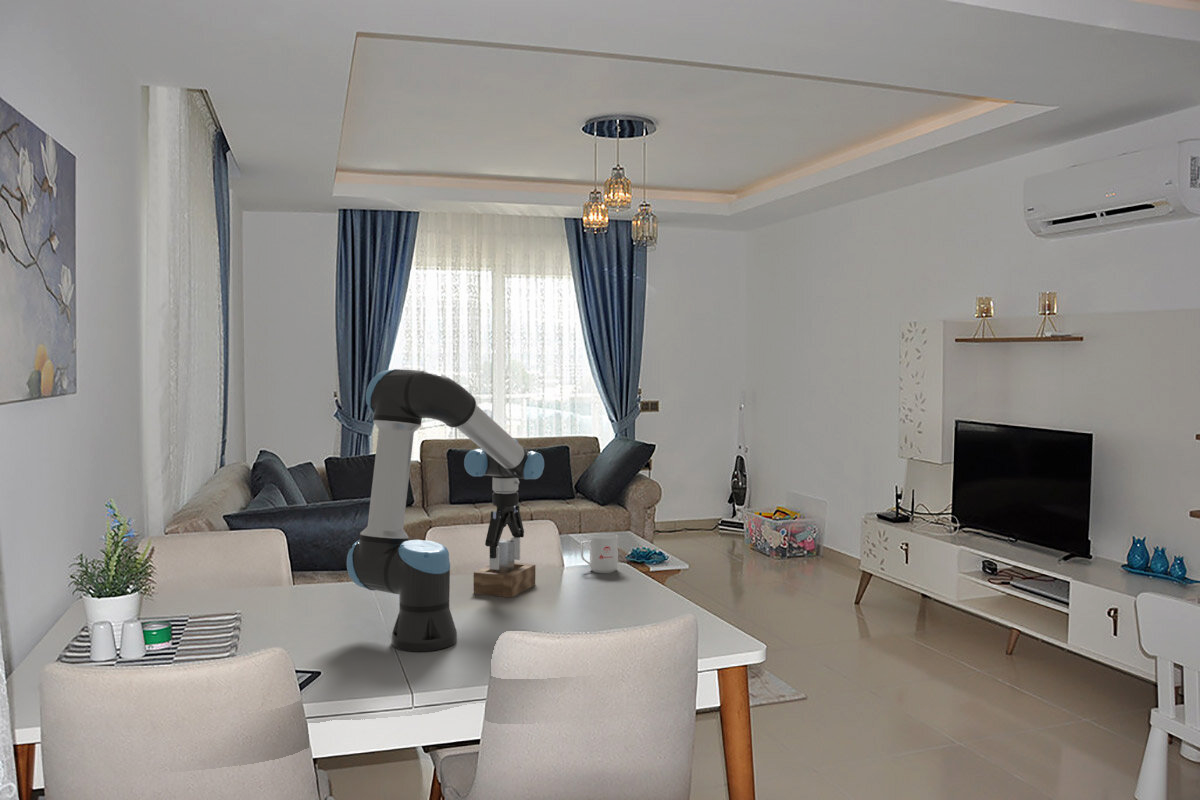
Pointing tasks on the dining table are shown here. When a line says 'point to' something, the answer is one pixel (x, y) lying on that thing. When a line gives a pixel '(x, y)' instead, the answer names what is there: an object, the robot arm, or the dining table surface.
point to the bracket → (506, 556)
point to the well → (504, 580)
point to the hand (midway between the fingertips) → (505, 564)
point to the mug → (602, 552)
